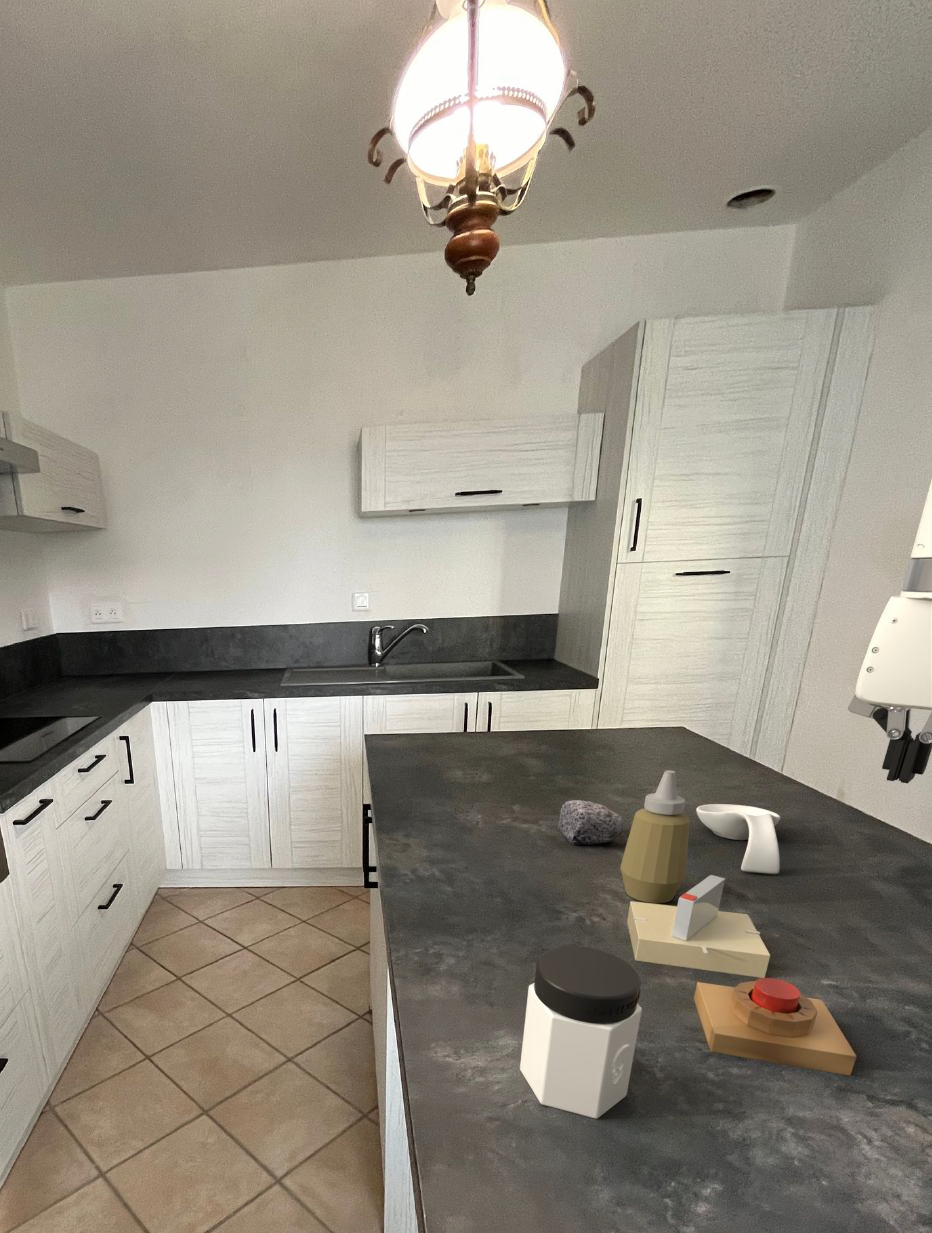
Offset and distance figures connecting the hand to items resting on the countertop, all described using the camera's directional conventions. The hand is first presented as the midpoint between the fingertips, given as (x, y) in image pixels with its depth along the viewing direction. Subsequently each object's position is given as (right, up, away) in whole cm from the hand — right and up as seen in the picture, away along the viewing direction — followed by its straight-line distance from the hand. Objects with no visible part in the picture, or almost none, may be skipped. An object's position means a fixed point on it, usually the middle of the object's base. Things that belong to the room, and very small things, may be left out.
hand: (900, 778), depth 67 cm
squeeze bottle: (-9, -14, +29) cm, 33 cm away
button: (-13, -22, -1) cm, 26 cm away
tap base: (-11, -19, +16) cm, 27 cm away
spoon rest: (+14, -8, +44) cm, 46 cm away
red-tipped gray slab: (-11, -16, +15) cm, 25 cm away
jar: (-34, -28, -5) cm, 45 cm away
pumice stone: (-9, -7, +48) cm, 49 cm away
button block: (-13, -25, 0) cm, 28 cm away
